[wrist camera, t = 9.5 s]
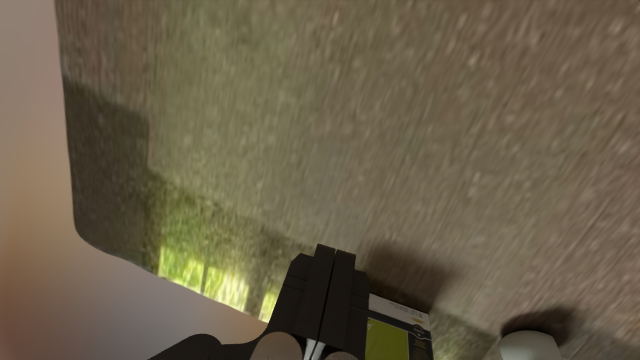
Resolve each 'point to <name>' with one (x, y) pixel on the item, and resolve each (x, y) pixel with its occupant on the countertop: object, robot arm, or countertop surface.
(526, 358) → the air freshener
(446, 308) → the countertop surface
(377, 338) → the tea box
